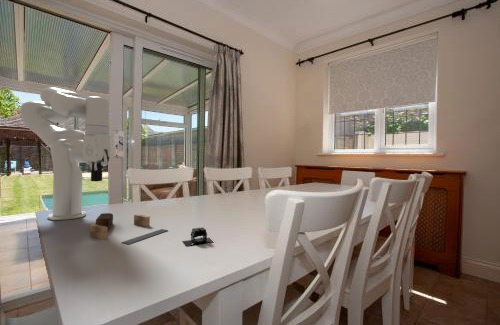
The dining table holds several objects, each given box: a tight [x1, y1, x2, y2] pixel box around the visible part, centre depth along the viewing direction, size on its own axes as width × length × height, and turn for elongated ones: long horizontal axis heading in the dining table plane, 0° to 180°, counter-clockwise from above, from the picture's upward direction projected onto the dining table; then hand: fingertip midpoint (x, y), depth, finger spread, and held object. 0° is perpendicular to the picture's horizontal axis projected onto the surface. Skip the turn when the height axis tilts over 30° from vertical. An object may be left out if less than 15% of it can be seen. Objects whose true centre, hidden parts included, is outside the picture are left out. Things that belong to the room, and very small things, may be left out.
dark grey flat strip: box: [121, 228, 169, 246], centre depth 80 cm, size 3×16×1 cm, turn 154°
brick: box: [95, 212, 114, 231], centre depth 88 cm, size 11×4×5 cm, turn 22°
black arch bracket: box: [181, 226, 215, 248], centre depth 77 cm, size 12×7×5 cm, turn 120°
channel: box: [89, 213, 151, 240], centre depth 85 cm, size 6×18×4 cm, turn 154°
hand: (96, 180), depth 91 cm, fingers closed
